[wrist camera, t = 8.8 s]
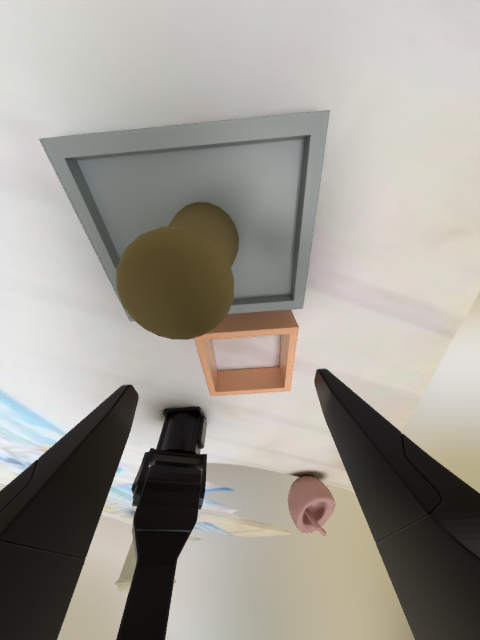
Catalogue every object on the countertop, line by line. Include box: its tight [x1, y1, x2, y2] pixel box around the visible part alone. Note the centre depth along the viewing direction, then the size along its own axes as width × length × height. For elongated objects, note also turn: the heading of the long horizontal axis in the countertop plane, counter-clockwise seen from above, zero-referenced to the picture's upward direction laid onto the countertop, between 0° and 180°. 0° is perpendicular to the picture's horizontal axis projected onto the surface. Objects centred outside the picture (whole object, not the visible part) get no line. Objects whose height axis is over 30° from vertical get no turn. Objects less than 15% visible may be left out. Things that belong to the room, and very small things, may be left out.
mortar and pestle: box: [288, 476, 335, 536], centre depth 50 cm, size 12×12×12 cm
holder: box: [194, 309, 299, 396], centre depth 23 cm, size 11×11×4 cm
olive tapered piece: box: [116, 202, 239, 339], centre depth 12 cm, size 6×6×11 cm
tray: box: [39, 110, 330, 321], centre depth 16 cm, size 18×14×2 cm
